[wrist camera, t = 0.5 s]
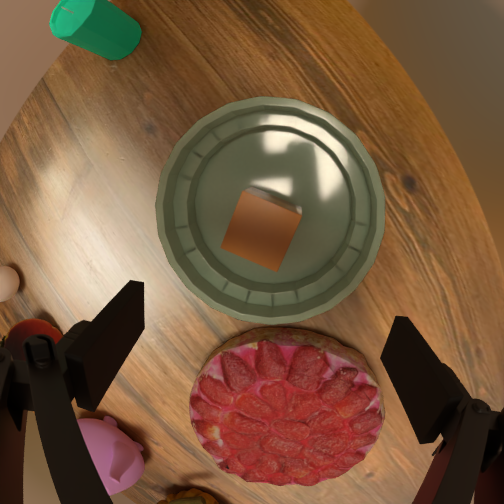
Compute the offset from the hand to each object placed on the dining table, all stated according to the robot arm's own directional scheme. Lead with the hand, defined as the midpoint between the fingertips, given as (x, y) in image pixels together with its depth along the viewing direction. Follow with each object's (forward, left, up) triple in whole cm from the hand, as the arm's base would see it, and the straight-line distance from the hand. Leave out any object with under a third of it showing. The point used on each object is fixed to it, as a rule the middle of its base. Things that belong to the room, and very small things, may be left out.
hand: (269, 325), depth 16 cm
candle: (-16, -28, -19) cm, 37 cm away
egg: (+22, -37, -19) cm, 47 cm away
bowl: (-3, -3, -19) cm, 19 cm away
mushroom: (+33, -31, -19) cm, 49 cm away
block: (-1, -3, -18) cm, 19 cm away
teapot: (+45, -13, -19) cm, 51 cm away
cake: (+20, +9, -19) cm, 30 cm away
